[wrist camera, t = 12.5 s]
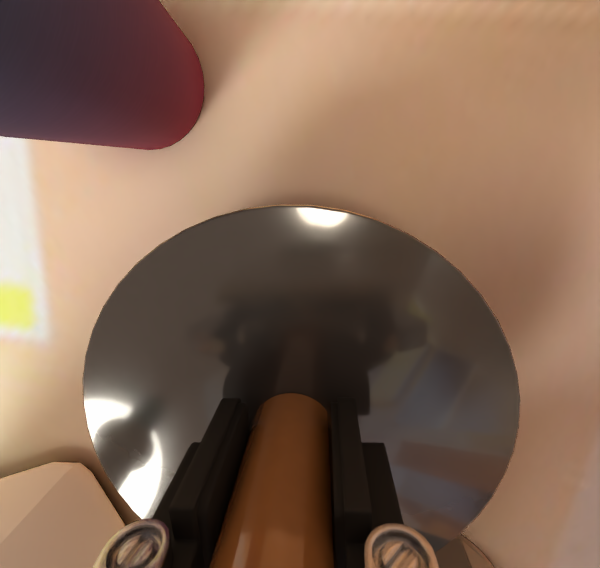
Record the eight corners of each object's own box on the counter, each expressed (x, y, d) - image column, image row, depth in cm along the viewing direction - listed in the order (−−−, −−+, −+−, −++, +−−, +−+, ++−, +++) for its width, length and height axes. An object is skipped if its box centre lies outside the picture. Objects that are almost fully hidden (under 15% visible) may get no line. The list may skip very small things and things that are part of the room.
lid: (524, 190, 10) (955, 194, 3) (483, 560, 14) (644, 932, 7) (64, 214, 11) (-353, 255, 4) (140, 551, 15) (-20, 864, 8)
